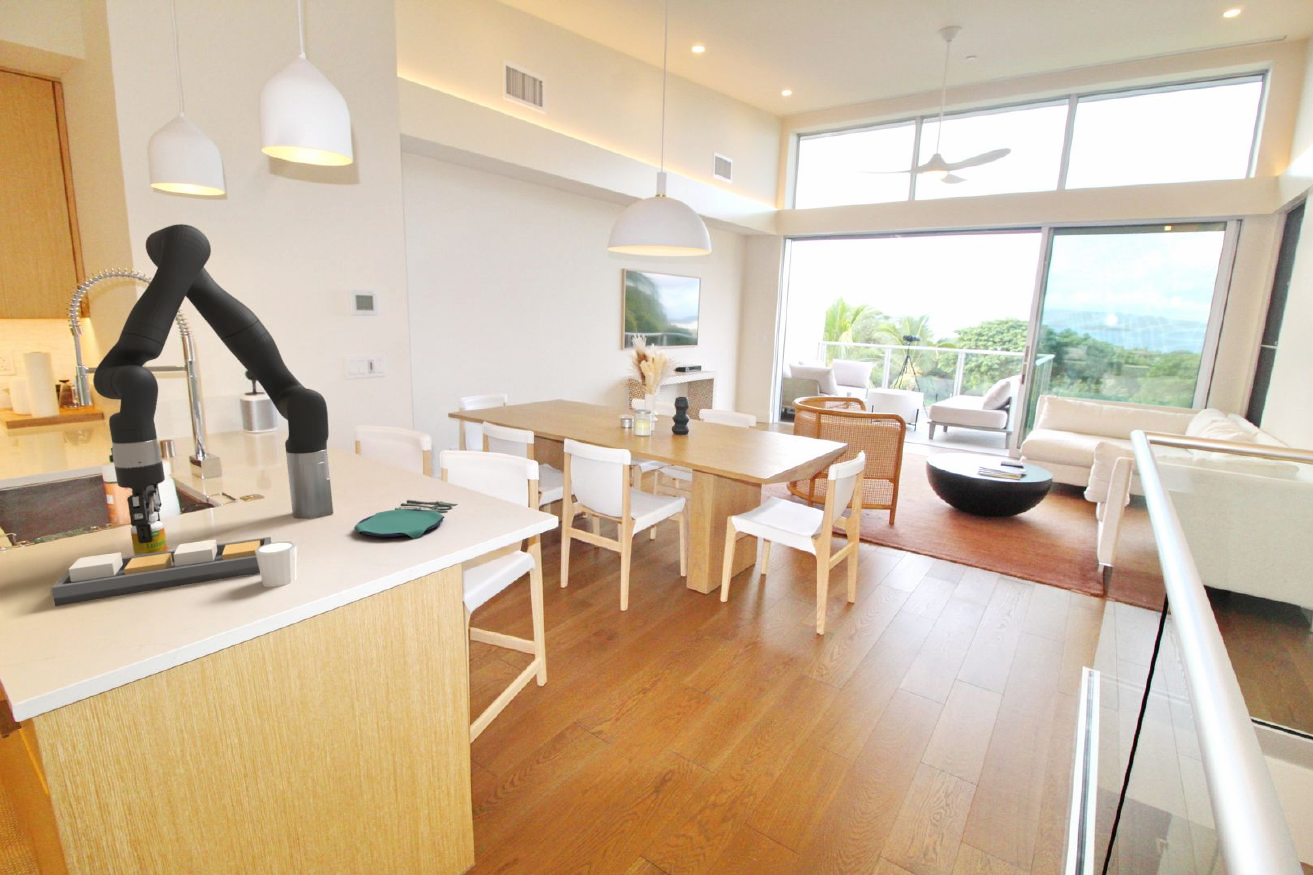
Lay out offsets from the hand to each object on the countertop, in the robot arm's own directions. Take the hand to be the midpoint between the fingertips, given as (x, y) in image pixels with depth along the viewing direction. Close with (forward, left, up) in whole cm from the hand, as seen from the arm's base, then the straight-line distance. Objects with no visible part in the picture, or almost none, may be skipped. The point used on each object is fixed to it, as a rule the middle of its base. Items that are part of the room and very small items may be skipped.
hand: (150, 535), depth 127 cm
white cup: (-24, +26, -5) cm, 36 cm away
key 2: (-9, +14, -2) cm, 17 cm away
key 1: (-17, +14, -3) cm, 22 cm away
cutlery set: (-51, -1, -6) cm, 52 cm away
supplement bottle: (0, 0, -5) cm, 5 cm away
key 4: (+6, +14, -2) cm, 15 cm away
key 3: (-2, +14, -3) cm, 15 cm away
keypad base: (-6, +14, -5) cm, 16 cm away
